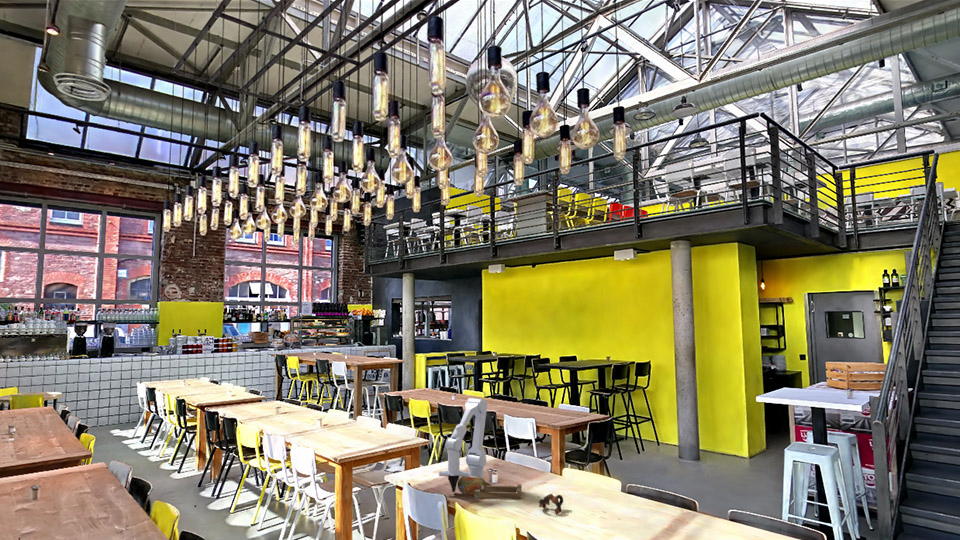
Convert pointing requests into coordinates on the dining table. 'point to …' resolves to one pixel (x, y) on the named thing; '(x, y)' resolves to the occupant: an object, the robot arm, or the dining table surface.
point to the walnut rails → (500, 492)
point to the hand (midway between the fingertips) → (453, 491)
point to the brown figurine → (554, 500)
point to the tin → (471, 485)
